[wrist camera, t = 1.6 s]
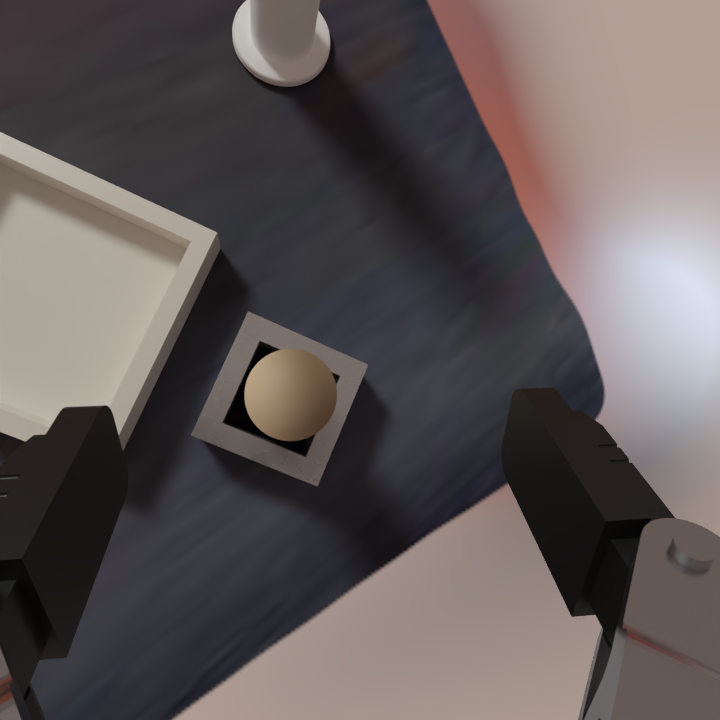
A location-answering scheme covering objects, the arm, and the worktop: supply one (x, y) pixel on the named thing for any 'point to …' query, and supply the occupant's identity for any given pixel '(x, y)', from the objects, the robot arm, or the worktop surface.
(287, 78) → the candle
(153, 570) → the worktop surface
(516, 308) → the worktop surface
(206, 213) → the worktop surface
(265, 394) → the peg
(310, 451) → the collar
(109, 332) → the tray
